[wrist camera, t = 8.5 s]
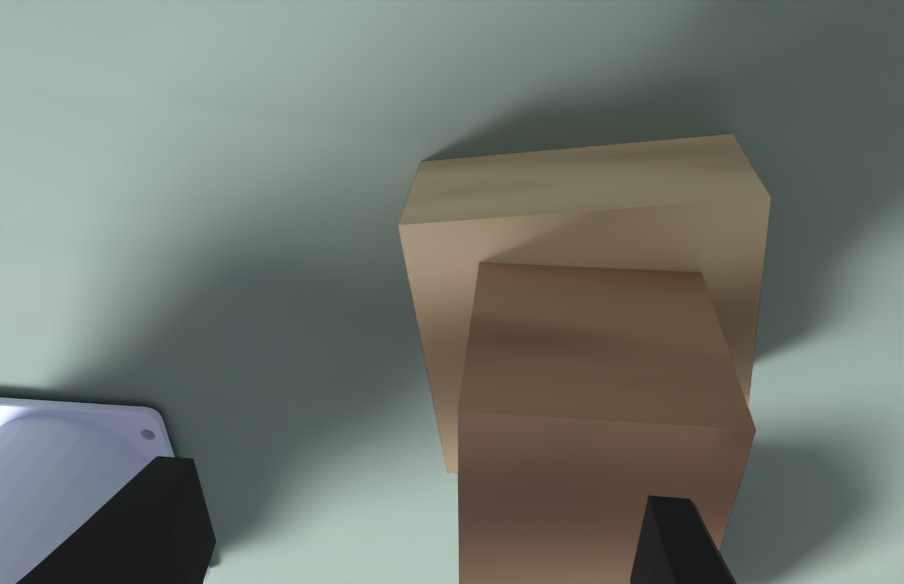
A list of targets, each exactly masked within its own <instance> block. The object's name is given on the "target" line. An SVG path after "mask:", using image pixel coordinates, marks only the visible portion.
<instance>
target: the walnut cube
mask: <svg viewBox="0 0 904 584" xmlns="http://www.w3.org/2000/svg"><path fill="white" fill-rule="evenodd" d="M755 432H756V429H755V426H754V423H753V420H752V417H751V414H750V411H749V408H748V405H747V403H746V400H745V397H744V394H743V391H742V388H741V385H740V382H739V379H738V376H737V373H736V371H735V368H734V365H733V362H732V359H731V356H730V353H729V350H728V347H727V344H726V341H725V339H724V336H723V333H722V330H721V327H720V324H719V321H718V318H717V315H716V312H715V309H714V307H713V304H712V301H711V298H710V295H709V292H708V289H707V286H706V283H705V280H704V277H703V274H702V272H681V271H659V270H637V269H615V268H593V267H572V266H550V265H528V264H506V263H484V262H479V267H478V274H477V281H476V287H475V294H474V301H473V308H472V315H471V322H470V329H469V335H468V342H467V349H466V356H465V363H464V370H463V377H462V383H461V390H460V397H459V404H458V519H459V584H630V577H631V572H632V568H633V563H634V559H635V554H636V550H637V545H638V541H639V536H640V531H641V527H642V522H643V518H644V513H645V509H646V504H647V500H648V495H651V496H663V497H676V498H688V499H690V500H691V501H692V502H693V503H694V504H695V505H696V507H697V509H698V511H699V513H700V516H701V518H702V520H703V522H704V524H705V526H706V528H707V530H708V532H709V534H710V536H711V537H712V539H713V541H714V543H715V545H716V547H717V549H718V551H720V547H721V544H722V541H723V538H724V534H725V531H726V528H727V524H728V521H729V518H730V514H731V511H732V508H733V505H734V501H735V498H736V495H737V491H738V488H739V485H740V481H741V478H742V475H743V472H744V468H745V465H746V462H747V458H748V455H749V452H750V448H751V445H752V442H753V438H754V435H755Z"/></svg>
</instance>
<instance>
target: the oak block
mask: <svg viewBox="0 0 904 584" xmlns="http://www.w3.org/2000/svg"><path fill="white" fill-rule="evenodd" d="M770 203H771V197H770V195H769V193H768V192H767V190H766V188H765V187H764V185H763V183H762V182H761V180H760V178H759V177H758V175H757V173H756V172H755V170H754V168H753V167H752V165H751V163H750V162H749V160H748V158H747V157H746V155H745V153H744V152H743V150H742V148H741V147H740V145H739V143H738V142H737V140H736V138H735V137H734V135H733V134H725V135H714V136H702V137H691V138H680V139H669V140H657V141H646V142H635V143H623V144H612V145H601V146H589V147H578V148H567V149H556V150H544V151H533V152H522V153H510V154H499V155H488V156H476V157H465V158H454V159H443V160H431V161H421V162H420V165H419V168H418V171H417V173H416V176H415V179H414V182H413V185H412V187H411V190H410V193H409V196H408V198H407V201H406V204H405V207H404V210H403V212H402V215H401V218H400V221H399V224H398V228H399V233H400V238H401V243H402V248H403V253H404V258H405V263H406V268H407V273H408V278H409V283H410V289H411V294H412V299H413V304H414V309H415V314H416V319H417V324H418V329H419V334H420V339H421V344H422V349H423V354H424V359H425V364H426V369H427V374H428V379H429V384H430V389H431V394H432V399H433V404H434V409H435V414H436V419H437V424H438V429H439V434H440V439H441V444H442V449H443V454H444V459H445V464H446V469H447V473H458V404H459V397H460V390H461V383H462V377H463V370H464V363H465V356H466V349H467V342H468V335H469V329H470V322H471V315H472V308H473V301H474V294H475V287H476V281H477V274H478V267H479V262H484V263H506V264H528V265H550V266H572V267H593V268H615V269H637V270H659V271H681V272H702V274H703V277H704V280H705V283H706V286H707V289H708V292H709V295H710V298H711V301H712V304H713V307H714V309H715V312H716V315H717V318H718V321H719V324H720V327H721V330H722V333H723V336H724V339H725V341H726V344H727V347H728V350H729V353H730V356H731V359H732V362H733V365H734V368H735V371H736V373H737V376H738V379H739V382H740V385H741V388H742V391H743V394H744V397H745V400H746V403H747V405H749V396H750V387H751V378H752V368H753V359H754V350H755V341H756V331H757V322H758V313H759V304H760V295H761V285H762V276H763V267H764V258H765V249H766V239H767V230H768V221H769V212H770Z"/></svg>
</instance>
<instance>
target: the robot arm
mask: <svg viewBox="0 0 904 584" xmlns="http://www.w3.org/2000/svg"><path fill="white" fill-rule="evenodd" d="M151 431H152V432H151ZM215 543H216V540H215V536H214V532H213V529H212V525H211V522H210V518H209V514H208V511H207V507H206V503H205V500H204V496H203V492H202V489H201V485H200V481H199V478H198V474H197V470H196V467H195V463H194V459H190V458H177V457H174V453H173V450H172V447H171V444H170V441H169V438H168V434H167V431H166V428H165V425H164V422H163V418H162V417H161V415H160V414H159V413H158V412H157V411H156V410H154V409H152V408H148V407H138V406H122V405H107V404H92V403H76V402H61V401H46V400H30V399H15V398H0V584H203V581H205V580H206V579H207V578H208V575H209V573H210V568H209V562H210V559H211V556H212V553H213V549H214V546H215ZM630 584H737V583H736V582H735V580H734V578H733V576H732V574H731V573H730V571H729V569H728V567H727V565H726V564H725V562H724V560H723V558H722V556H721V554H720V553H719V551H718V549H717V547H716V545H715V543H714V541H713V539H712V537H711V536H710V534H709V532H708V530H707V528H706V526H705V524H704V522H703V520H702V518H701V516H700V513H699V511H698V509H697V507H696V505H695V504H694V503H693V502H692V501H691V500H690V499H688V498H676V497H663V496H651V495H648V500H647V504H646V509H645V513H644V518H643V522H642V527H641V531H640V536H639V541H638V545H637V550H636V554H635V559H634V563H633V568H632V572H631V577H630Z"/></svg>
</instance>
